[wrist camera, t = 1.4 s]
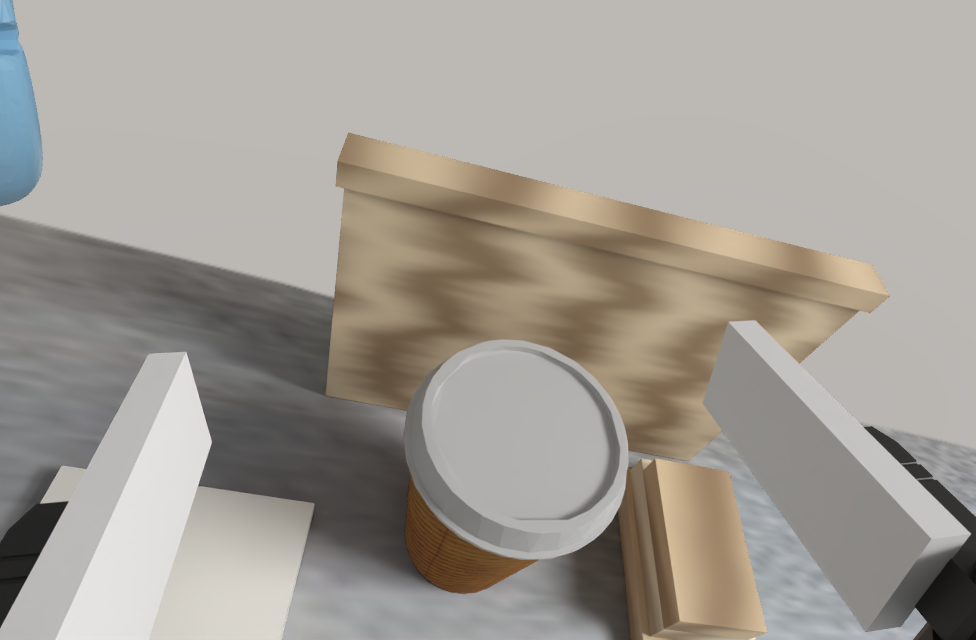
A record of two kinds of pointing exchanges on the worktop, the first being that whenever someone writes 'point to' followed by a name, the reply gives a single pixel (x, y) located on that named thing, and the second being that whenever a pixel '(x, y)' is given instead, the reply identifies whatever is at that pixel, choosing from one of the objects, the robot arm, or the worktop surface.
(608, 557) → the worktop surface
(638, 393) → the pine panel
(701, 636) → the offcut stack
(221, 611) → the white square coaster
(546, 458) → the disposable coffee cup
